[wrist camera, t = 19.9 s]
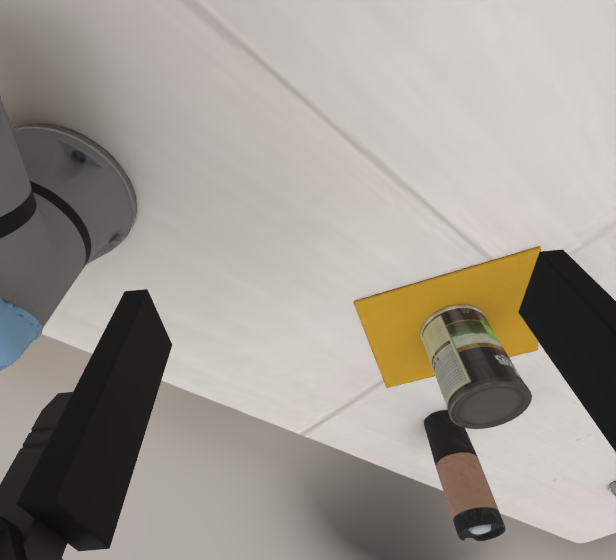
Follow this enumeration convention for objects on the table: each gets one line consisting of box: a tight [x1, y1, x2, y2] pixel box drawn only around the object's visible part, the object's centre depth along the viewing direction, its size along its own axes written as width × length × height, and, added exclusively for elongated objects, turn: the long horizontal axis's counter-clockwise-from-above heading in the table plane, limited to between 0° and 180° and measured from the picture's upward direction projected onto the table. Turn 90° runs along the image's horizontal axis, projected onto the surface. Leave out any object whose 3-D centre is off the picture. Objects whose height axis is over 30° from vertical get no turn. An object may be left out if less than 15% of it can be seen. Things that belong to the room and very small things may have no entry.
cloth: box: [354, 247, 541, 388], centre depth 60 cm, size 26×22×1 cm
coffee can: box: [420, 305, 532, 429], centre depth 54 cm, size 10×10×14 cm
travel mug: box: [424, 410, 505, 541], centre depth 69 cm, size 8×8×20 cm
